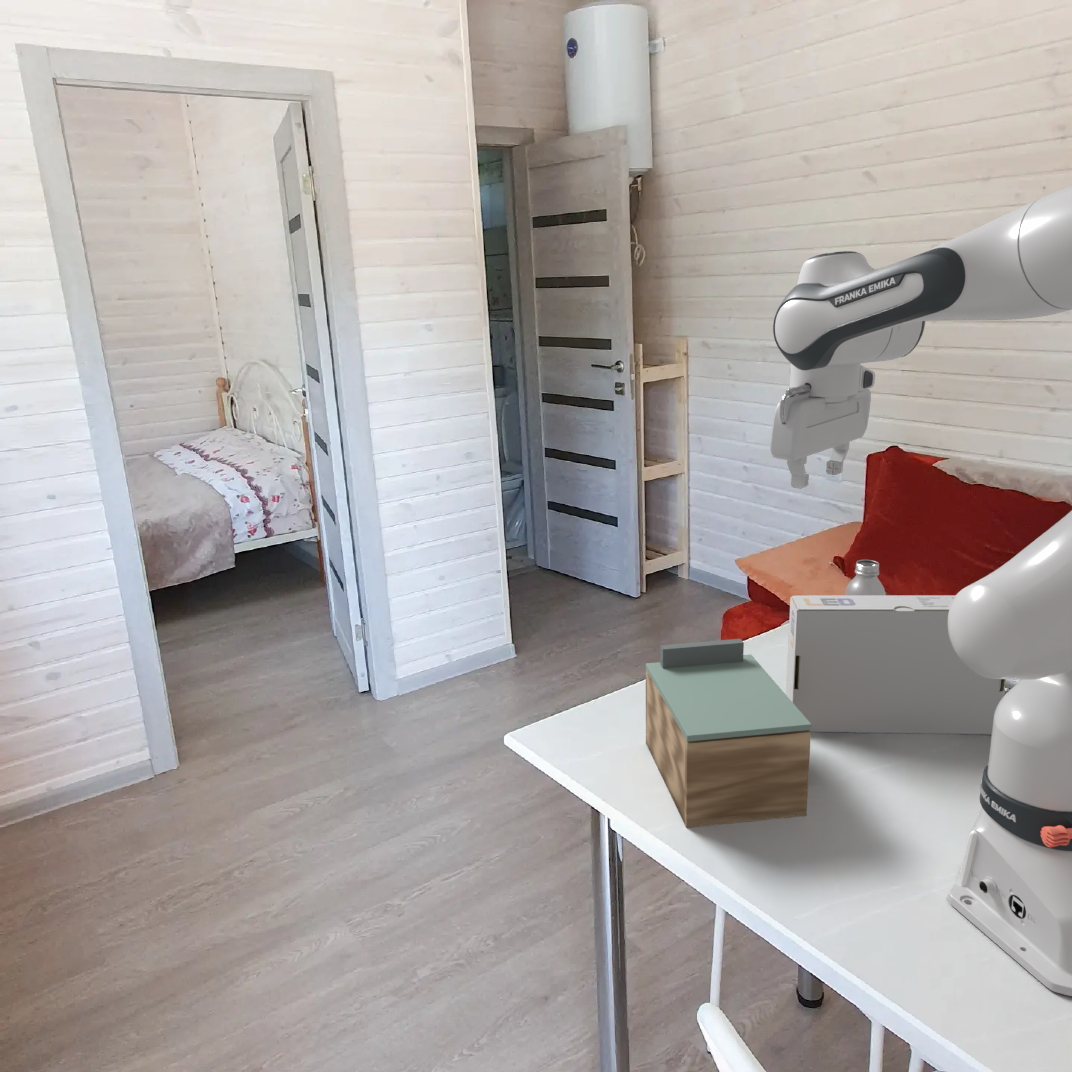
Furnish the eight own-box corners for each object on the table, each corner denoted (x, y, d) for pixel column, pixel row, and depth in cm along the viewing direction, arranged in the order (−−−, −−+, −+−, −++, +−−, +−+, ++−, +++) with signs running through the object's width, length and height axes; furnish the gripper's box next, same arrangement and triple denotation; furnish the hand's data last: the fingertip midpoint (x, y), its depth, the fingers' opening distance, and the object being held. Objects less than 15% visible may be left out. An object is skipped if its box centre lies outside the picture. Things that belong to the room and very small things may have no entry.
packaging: (984, 716, 143) (998, 595, 137) (999, 735, 137) (1014, 610, 131) (785, 713, 146) (790, 595, 140) (791, 732, 140) (797, 609, 134)
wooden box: (806, 815, 119) (810, 732, 116) (686, 827, 117) (687, 743, 114) (748, 733, 140) (750, 661, 137) (645, 743, 138) (645, 670, 135)
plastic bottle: (855, 683, 155) (862, 571, 149) (832, 667, 161) (839, 559, 156) (888, 677, 157) (897, 566, 151) (864, 662, 163) (872, 555, 157)
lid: (811, 729, 116) (812, 702, 114) (687, 741, 114) (687, 713, 113) (750, 659, 137) (751, 635, 135) (645, 668, 135) (645, 644, 134)
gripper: (805, 391, 113) (798, 500, 117) (881, 372, 127) (872, 470, 131) (760, 387, 117) (755, 491, 121) (839, 369, 131) (831, 463, 135)
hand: (817, 480), depth 126 cm, fingers open, 8 cm apart
